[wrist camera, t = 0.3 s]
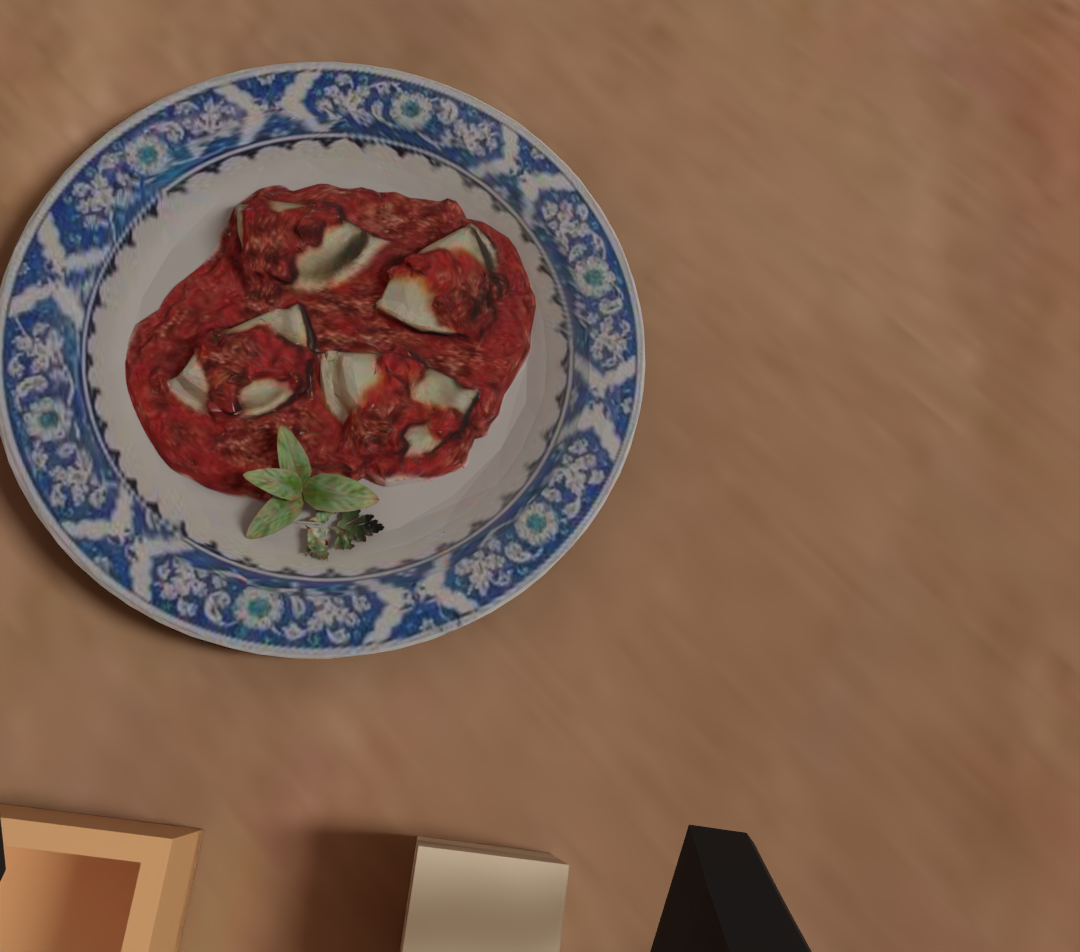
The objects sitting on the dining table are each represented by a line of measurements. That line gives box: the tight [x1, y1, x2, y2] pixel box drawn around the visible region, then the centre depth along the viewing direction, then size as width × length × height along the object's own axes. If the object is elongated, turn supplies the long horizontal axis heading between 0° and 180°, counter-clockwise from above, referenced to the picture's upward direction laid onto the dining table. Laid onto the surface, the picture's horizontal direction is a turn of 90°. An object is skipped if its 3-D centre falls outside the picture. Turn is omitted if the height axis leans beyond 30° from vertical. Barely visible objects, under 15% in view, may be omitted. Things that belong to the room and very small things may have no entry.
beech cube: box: [400, 836, 569, 952], centre depth 35 cm, size 5×5×5 cm
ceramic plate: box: [0, 62, 645, 659], centre depth 41 cm, size 26×26×3 cm
